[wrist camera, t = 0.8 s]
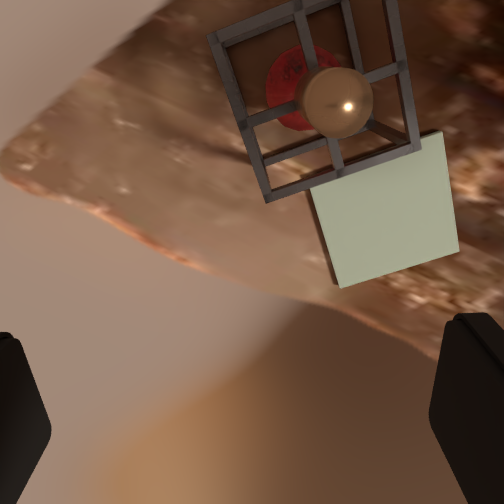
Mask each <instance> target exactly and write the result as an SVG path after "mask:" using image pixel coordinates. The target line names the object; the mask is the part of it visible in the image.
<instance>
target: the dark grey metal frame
mask: <svg viewBox="0 0 504 504" xmlns="http://www.w3.org/2000/svg"><path fill="white" fill-rule="evenodd" d="M336 3H339V5H340V10H341V14H342V19H343V23H344V28H345V32H346V37H347V41H348V46H349V50H350V55H351V59H352V64H353V68H354V70H353V69H350V68H340V67H326V66H320V67H319V66H318V62H317V58H316V54H315V50H314V46H313V42H312V38H311V34H310V30H309V26H308V23H307V19H306V15H309V14H311V13H314V12H316V11H319V10H321V9H324V8H326V7H329V6H331V5H334V4H336ZM382 5H383V10H384V16H385V21H386V27H387V32H388V38H389V43H390V49H391V54H392V60H393V62H392V63H389V64H387V65H384V66H381V67H379V68H376V69H373V70H371V71H368V72H365V73H364V69H363V64H362V60H361V55H360V50H359V45H358V41H357V36H356V31H355V27H354V22H353V17H352V12H351V8H350V3H349V0H292V1H289V2H287V3H284V4H282V5H279V6H277V7H274V8H272V9H269V10H267V11H264V12H262V13H260V14H257V15H255V16H252V17H250V18H247V19H245V20H242V21H240V22H237V23H235V24H232V25H230V26H227V27H225V28H223V29H220V30H218V31H215V32H213V33H210V34H208V35H206V37H207V40H208V43H209V45H210V48H211V51H212V54H213V57H214V59H215V62H216V65H217V68H218V71H219V73H220V76H221V79H222V82H223V85H224V87H225V90H226V93H227V96H228V99H229V102H230V104H231V107H232V110H233V113H234V116H235V118H236V121H237V124H238V127H239V130H240V132H241V135H242V138H243V141H244V144H245V146H246V149H247V152H248V155H249V158H250V161H251V163H252V166H253V169H254V172H255V175H256V177H257V180H258V183H259V186H260V189H261V191H262V194H263V197H264V200H265V203H269V202H272V201H275V200H278V199H281V198H284V197H287V196H289V195H292V194H295V193H298V192H301V191H304V190H307V189H310V188H313V187H315V186H318V185H321V184H324V183H327V182H330V181H333V180H336V179H339V178H341V177H344V176H347V175H350V174H353V173H356V172H359V171H362V170H365V169H367V168H370V167H373V166H376V165H379V164H382V163H385V162H388V161H391V160H394V159H396V158H399V157H402V156H405V155H408V154H411V153H414V152H417V151H420V150H422V146H421V140H420V134H419V128H418V122H417V116H416V110H415V104H414V98H413V92H412V86H411V80H410V74H409V68H408V62H407V56H406V50H405V44H404V38H403V32H402V27H401V21H400V15H399V9H398V3H397V0H382ZM291 21H294V23H295V27H296V30H297V34H298V38H299V42H300V45H301V49H302V53H303V57H304V60H305V64H306V68H307V72H306V73H305V74H304V75H303V76H302V77H301V78H300V80H299V81H298V83H297V85H296V88H295V92H294V99H293V100H291V101H288V102H285V103H283V104H280V105H277V106H275V107H272V108H269V109H267V110H264V111H261V112H259V113H256V114H253V115H251V116H248V113H247V110H246V107H245V104H244V101H243V98H242V95H241V92H240V89H239V86H238V83H237V80H236V77H235V75H234V72H233V69H232V66H231V63H230V60H229V57H228V54H227V51H226V47H229V46H231V45H234V44H236V43H239V42H241V41H244V40H246V39H249V38H251V37H254V36H256V35H259V34H261V33H264V32H266V31H269V30H271V29H274V28H276V27H279V26H281V25H284V24H286V23H289V22H291ZM394 74H395V76H396V82H397V87H398V93H399V98H400V104H401V109H402V115H403V120H404V126H405V131H406V134H405V133H402V132H400V131H398V130H396V129H393V128H391V127H389V126H387V125H384V124H382V123H380V122H377V121H375V120H374V116H373V111H372V108H373V92H372V88H371V86H370V83H373V82H375V81H378V80H381V79H383V78H386V77H389V76H391V75H394ZM294 111H298V113H299V114H300V116H301V117H302V118H303V119H304V120H306V121H307V122H308V123H309V124H310V125H311V126H312V127H313V128H314V129H316V130H317V131H318V132H319V133H320V134H322V135H324V137H321V138H319V139H316V140H313V141H310V142H307V143H305V144H302V145H299V146H296V147H294V148H291V149H288V150H285V151H282V152H280V153H277V154H274V155H271V156H269V157H266V158H263V157H262V154H261V151H260V148H259V145H258V142H257V139H256V136H255V133H254V130H253V127H254V126H257V125H259V124H262V123H265V122H268V121H270V120H273V119H276V118H278V117H281V116H284V115H286V114H289V113H292V112H294ZM366 130H371V131H372V132H374V133H376V134H378V135H380V136H382V137H384V138H386V139H388V140H389V141H391V142H393V143H395V144H397V146H395V147H392V148H389V149H386V150H383V151H380V152H377V153H375V154H372V155H369V156H366V157H363V158H360V159H357V160H355V161H352V162H349V163H346V164H344V163H343V159H342V156H341V152H340V148H339V144H338V140H341V139H344V138H347V137H350V136H352V135H355V134H358V133H361V132H364V131H366ZM324 145H327V146H328V150H329V154H330V157H331V161H332V165H333V168H332V169H329V170H326V171H323V172H320V173H317V174H315V175H312V176H309V177H306V178H303V179H300V180H297V181H295V182H292V183H289V184H286V185H283V186H280V187H277V188H275V189H271V185H270V181H269V177H268V173H267V169H266V166H268V165H271V164H274V163H277V162H280V161H282V160H285V159H288V158H291V157H294V156H296V155H299V154H302V153H305V152H308V151H310V150H313V149H316V148H319V147H322V146H324Z"/></svg>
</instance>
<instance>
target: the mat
mask: <svg viewBox="0 0 504 504" xmlns="http://www.w3.org/2000/svg"><path fill="white" fill-rule="evenodd" d="M420 140H421V146H422V150H420V151H417V152H414V153H411V154H408V155H405V156H402V157H399V158H396V159H394V160H391V161H388V162H385V163H382V164H379V165H376V166H373V167H370V168H367V169H365V170H362V171H359V172H356V173H353V174H350V175H347V176H344V177H341V178H339V179H336V180H333V181H330V182H327V183H324V184H321V185H318V186H315V187H313V188H310V192H311V195H312V198H313V202H314V205H315V208H316V212H317V215H318V218H319V222H320V225H321V228H322V231H323V235H324V238H325V241H326V245H327V248H328V251H329V255H330V258H331V261H332V265H333V268H334V271H335V275H336V278H337V281H338V285H339V287H340V289H341V288H344V287H347V286H350V285H353V284H357V283H360V282H363V281H366V280H369V279H373V278H376V277H379V276H382V275H385V274H389V273H392V272H395V271H398V270H401V269H405V268H408V267H411V266H414V265H417V264H421V263H424V262H427V261H430V260H433V259H437V258H440V257H443V256H446V255H449V254H453V253H456V252H459V245H458V238H457V231H456V224H455V217H454V210H453V203H452V196H451V189H450V182H449V175H448V168H447V161H446V154H445V146H444V139H443V132H442V131H437V132H434V133H431V134H428V135H425V136H422V137H420ZM394 147H395V146H394ZM391 148H392V147H391ZM388 149H389V148H388ZM385 150H386V149H385ZM382 151H383V150H382ZM379 152H380V151H379ZM374 154H375V153H374ZM371 155H372V154H371ZM368 156H369V155H368ZM365 157H366V156H365ZM362 158H363V157H362ZM359 159H360V158H359ZM354 161H355V160H354ZM351 162H352V161H351ZM348 163H349V162H348ZM345 164H346V163H345ZM331 169H332V168H331ZM328 170H329V169H328ZM325 171H326V170H325ZM322 172H323V171H322ZM319 173H320V172H319ZM314 175H315V174H314ZM311 176H312V175H311ZM308 177H309V176H308Z"/></svg>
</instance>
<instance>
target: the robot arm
mask: <svg viewBox="0 0 504 504" xmlns="http://www.w3.org/2000/svg"><path fill="white" fill-rule="evenodd" d="M429 421H430V425H431V428H432V430H433V432H434V434H435V436H436V438H437V440H438V442H439V444H440V446H441V449H442V451H443V452H444V455H445V457H446V459H447V461H448V463H449V464H450V467H451V469H452V471H453V473H454V475H455V477H456V479H457V481H458V484H459V486H460V487H461V490H462V492H463V494H464V496H465V498H466V500H467V502H468V504H504V330H503V329H502V328H501V327H500V326H499V325H498V324H497V323H496V321H495V320H494V319H493V318H492V317H491V316H490V315H489V314H487V313H484V312H481V313H458V314H456V315H455V316H454V318H453V320H452V321H447V323H446V325H445V329H444V334H443V340H442V345H441V350H440V355H439V360H438V365H437V371H436V376H435V381H434V386H433V391H432V397H431V402H430V407H429ZM50 437H51V423H50V420H49V418H48V415H47V412H46V410H45V407H44V404H43V401H42V399H41V396H40V393H39V391H38V388H37V385H36V383H35V380H34V377H33V374H32V372H31V369H30V366H29V364H28V361H27V358H26V355H25V353H24V350H23V347H22V345H21V343H20V341H19V340H18V339H16V338H14V337H13V336H12V335H11V334H10V333H8V332H0V504H16V503H17V501H18V499H19V497H20V495H21V494H22V491H23V490H24V488H25V486H26V484H27V482H28V480H29V478H30V476H31V474H32V473H33V471H34V469H35V467H36V465H37V463H38V461H39V459H40V457H41V456H42V454H43V452H44V450H45V448H46V446H47V444H48V442H49V440H50Z"/></svg>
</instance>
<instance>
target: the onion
mask: <svg viewBox="0 0 504 504" xmlns="http://www.w3.org/2000/svg"><path fill="white" fill-rule="evenodd" d="M313 46H314V50H315V54H316V58H317V62H318V66H319V67H320V66H326V67H340V68H341V65H340V64H339V62H338V61H337V60H336V59H335V57H334V56H333V55H332V54H331V53H330V52H328V51H326V50H324V49H322V48H320V47H318V46H316V45H313ZM306 72H307V68H306V64H305V60H304V57H303V53H302V49H301V45H297V46H295V47H293V48H291V49H289V50H287V51H285V52H283V53H281V55H280V56H279V57H278V58H277V60H276V61H275V62H274V63H273V65H272V66H271V67H270V69H269V73H268V77H267V81H266V85H265V87H266V99H267V103H268V105H269V107H270V108H272V107H275V106H277V105H280V104H283V103H285V102H288V101H291V100H293V99H294V92H295V88H296V85H297V83H298V81H299V80H300V78H301V77H302V76H303V75H304V74H305V73H306ZM277 119H278V120H279V121H280V122H281V123H282V124H283V125H284V126H286V127H288V128H291V129H294V130H297V131H303V130H313V129H314V128H313V127H312V126H311V125H310V124H309V123H308V122H307V121H306V120H304V119H303V118H302V117H301V116H300V114H299V113H298V111H294V112H292V113H289V114H286V115H284V116H281V117H278V118H277Z"/></svg>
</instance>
